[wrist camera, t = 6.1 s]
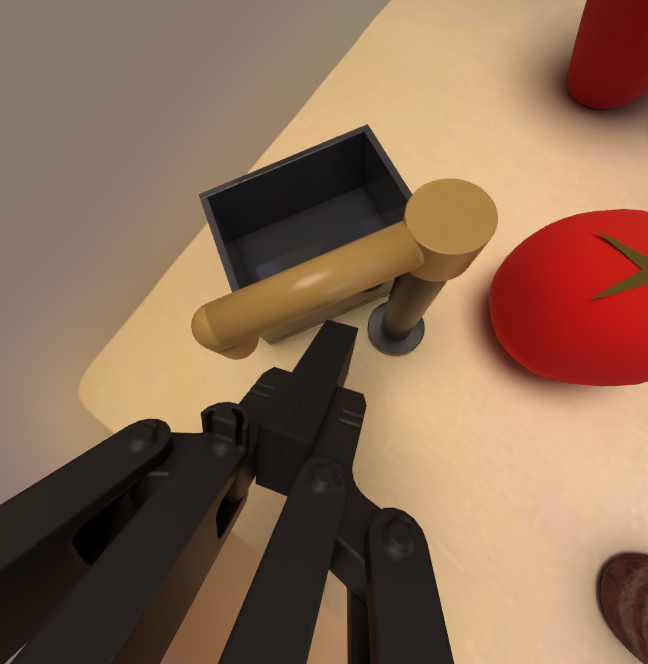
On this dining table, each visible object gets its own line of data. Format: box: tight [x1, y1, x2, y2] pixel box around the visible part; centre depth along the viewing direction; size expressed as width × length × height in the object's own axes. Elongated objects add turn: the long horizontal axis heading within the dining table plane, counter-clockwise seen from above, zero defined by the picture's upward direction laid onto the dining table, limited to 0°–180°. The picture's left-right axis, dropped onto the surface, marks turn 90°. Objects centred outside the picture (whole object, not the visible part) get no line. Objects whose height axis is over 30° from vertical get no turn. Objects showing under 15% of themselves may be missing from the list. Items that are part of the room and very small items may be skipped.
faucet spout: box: [191, 179, 498, 360], centre depth 12 cm, size 13×3×3 cm, turn 112°
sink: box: [199, 124, 412, 345], centre depth 25 cm, size 12×15×7 cm
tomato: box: [490, 209, 648, 386], centre depth 20 cm, size 12×12×10 cm
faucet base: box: [368, 272, 448, 356], centre depth 20 cm, size 5×5×13 cm
